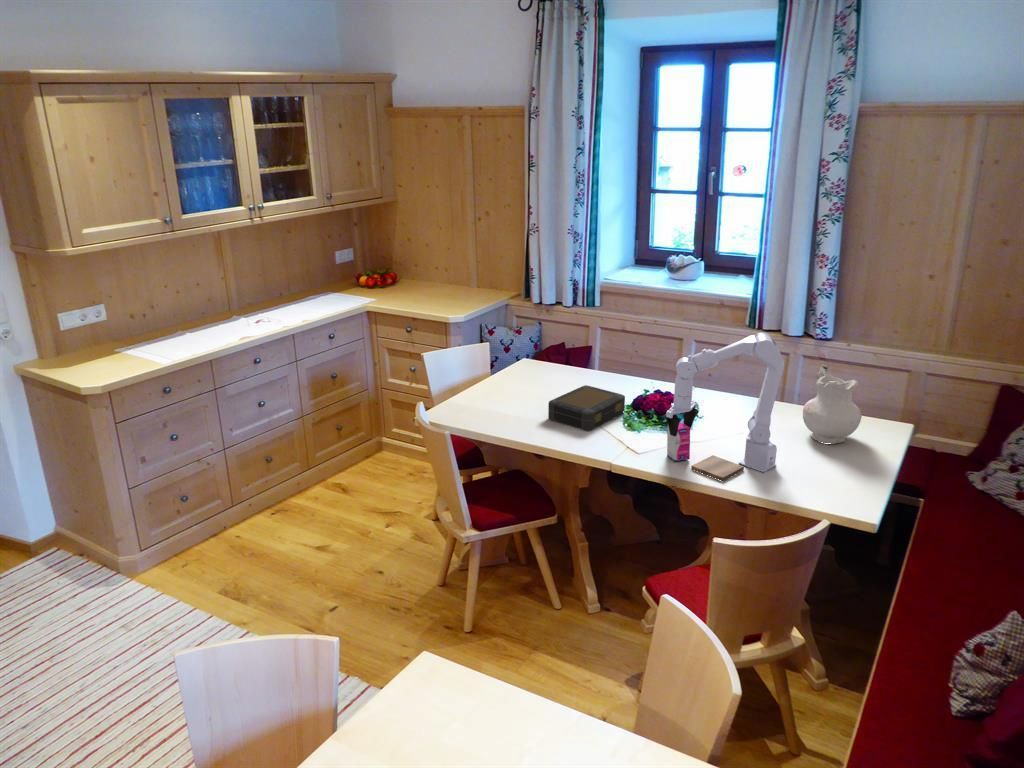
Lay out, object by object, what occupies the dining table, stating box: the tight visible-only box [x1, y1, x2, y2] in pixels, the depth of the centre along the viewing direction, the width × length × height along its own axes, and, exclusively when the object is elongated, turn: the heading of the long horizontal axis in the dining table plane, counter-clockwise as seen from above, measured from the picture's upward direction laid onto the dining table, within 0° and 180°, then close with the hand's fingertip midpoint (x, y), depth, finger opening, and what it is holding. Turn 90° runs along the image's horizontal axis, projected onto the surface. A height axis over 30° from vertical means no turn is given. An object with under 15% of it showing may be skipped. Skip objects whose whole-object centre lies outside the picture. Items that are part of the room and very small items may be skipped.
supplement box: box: [666, 422, 691, 462], centre depth 265 cm, size 6×6×12 cm
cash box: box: [547, 384, 626, 432], centre depth 302 cm, size 25×20×8 cm
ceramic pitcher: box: [802, 363, 863, 445], centre depth 279 cm, size 22×20×25 cm
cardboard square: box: [690, 455, 745, 482], centre depth 258 cm, size 12×12×2 cm
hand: (680, 432), depth 263 cm, fingers closed on supplement box, 7 cm apart
